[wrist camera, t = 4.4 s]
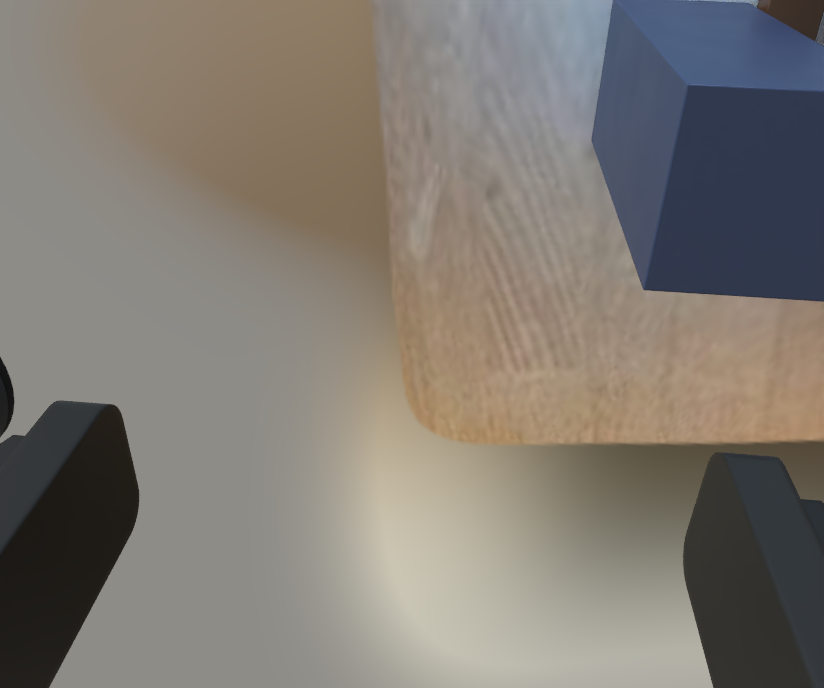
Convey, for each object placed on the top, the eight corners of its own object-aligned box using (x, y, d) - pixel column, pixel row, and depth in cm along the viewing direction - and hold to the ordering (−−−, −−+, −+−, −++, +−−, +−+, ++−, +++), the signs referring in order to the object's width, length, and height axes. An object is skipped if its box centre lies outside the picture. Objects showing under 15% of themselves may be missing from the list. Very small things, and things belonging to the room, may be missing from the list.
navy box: (591, 141, 32) (642, 290, 21) (613, -3, 29) (687, 83, 18) (713, 147, 31) (831, 302, 20) (749, 2, 28) (909, 94, 18)
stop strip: (708, 199, 33) (715, 210, 32) (774, -66, 27) (785, -63, 26) (756, 202, 32) (764, 213, 31) (832, -64, 27) (845, -60, 26)
